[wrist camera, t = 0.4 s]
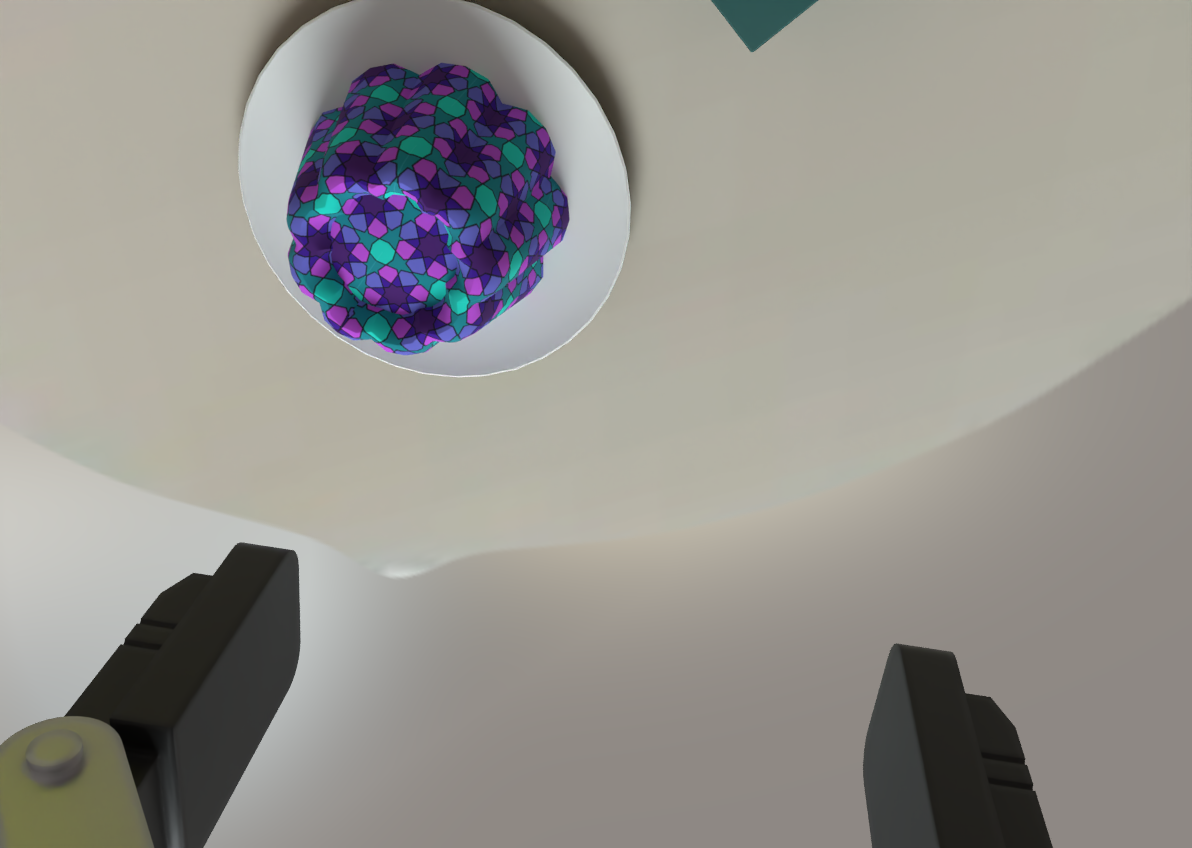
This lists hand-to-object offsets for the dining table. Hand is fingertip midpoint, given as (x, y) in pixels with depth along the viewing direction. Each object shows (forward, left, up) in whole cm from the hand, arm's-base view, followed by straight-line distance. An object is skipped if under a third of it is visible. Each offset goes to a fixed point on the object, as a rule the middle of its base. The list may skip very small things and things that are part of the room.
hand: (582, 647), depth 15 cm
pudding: (+7, -4, -21) cm, 22 cm away
